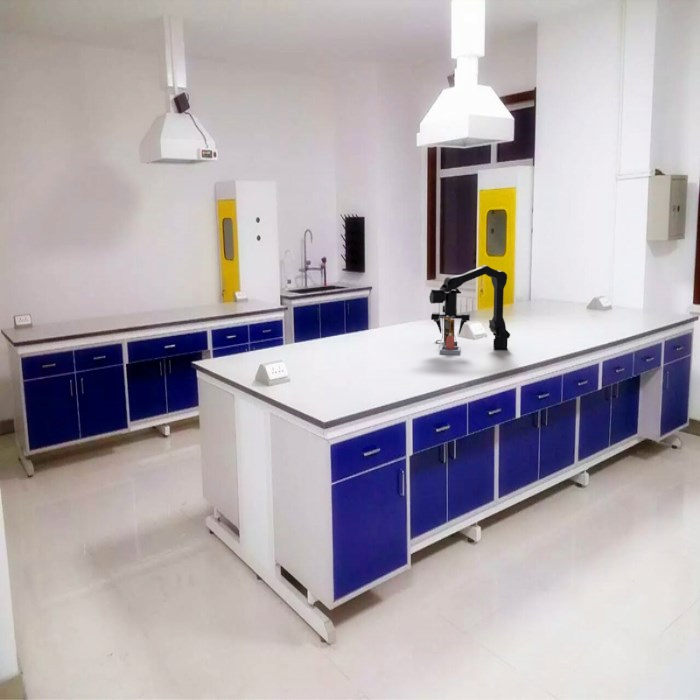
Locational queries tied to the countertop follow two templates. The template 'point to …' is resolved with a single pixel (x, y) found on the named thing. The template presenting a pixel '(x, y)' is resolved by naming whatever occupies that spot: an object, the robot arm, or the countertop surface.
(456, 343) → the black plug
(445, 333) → the multimeter
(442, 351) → the tray
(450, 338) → the red rounded cylinder
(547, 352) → the countertop surface
